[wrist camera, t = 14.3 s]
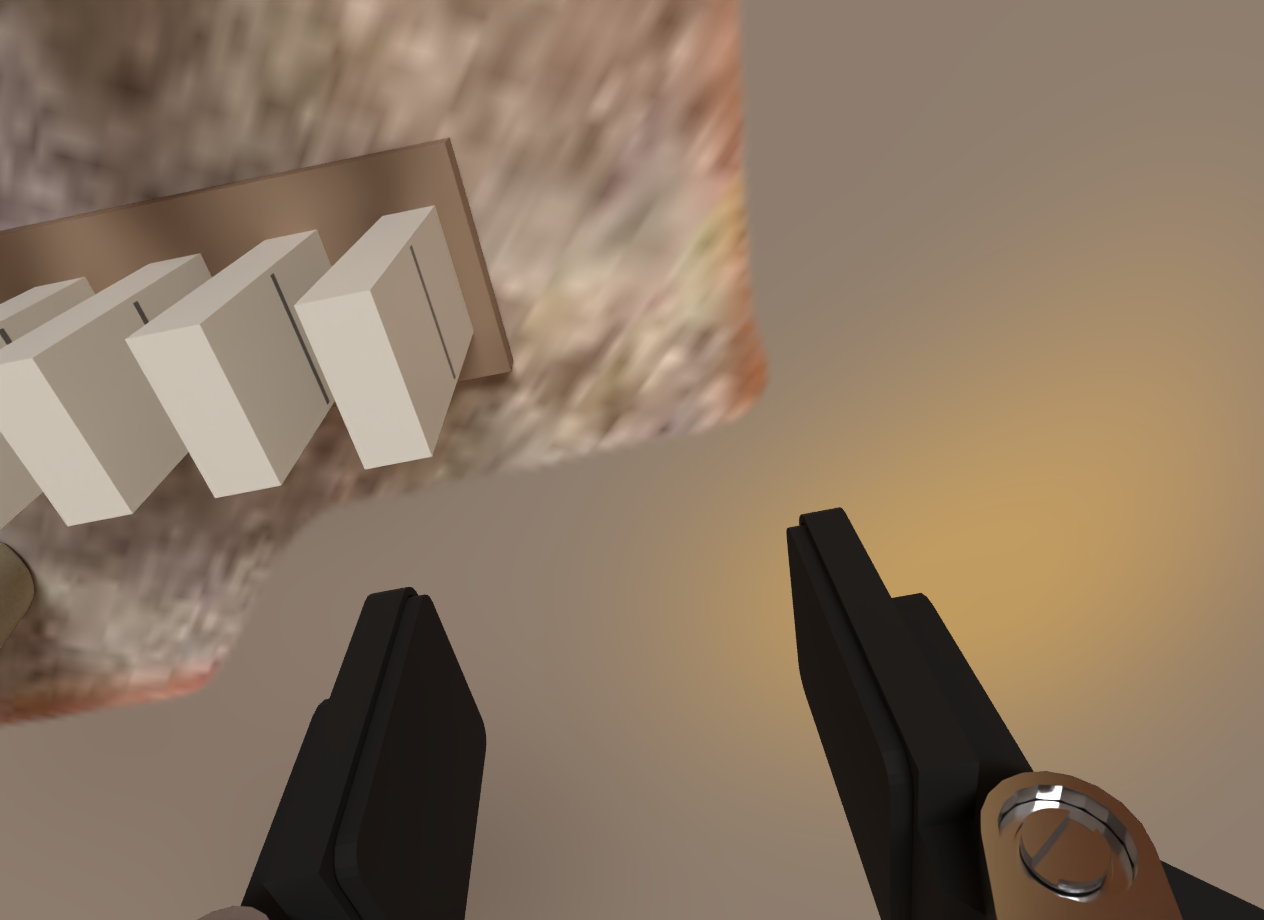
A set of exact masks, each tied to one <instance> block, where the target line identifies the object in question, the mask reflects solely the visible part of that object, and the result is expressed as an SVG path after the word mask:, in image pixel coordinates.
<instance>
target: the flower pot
mask: <svg viewBox="0 0 1264 920" xmlns="http://www.w3.org/2000/svg"><path fill="white" fill-rule="evenodd" d="M33 596H34V584H33V580H32V577H31V575H30V572H29V570H28V569H27V567H26V566H25V564H24V563H23V562H22V560H21V559H20V558H19V557H18V556H17V555H16V554H15V553H14V552H13V551H12V550H11V549H10V548H9V547H8V546H7V545H5V544H4V543H1V542H0V649H1V647H2V646H3V644H4V643H5V641H6V640H7V638H8V637H9V636H10V634H11V633H12V631H13V630H14V628H15V627H16V625H17V624H18V622H19V621H20V619H21V618H22V617H23V616H24V614H25V613H26V612H27V610H28V608H29V607H30V604H31V602H32V599H33Z"/></svg>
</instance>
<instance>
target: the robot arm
mask: <svg viewBox="0 0 1264 920" xmlns="http://www.w3.org/2000/svg"><path fill="white" fill-rule="evenodd" d="M787 544H788V556H789V566H790V577H791V588H792V597H793V598H792V599H793V609H794V620H795V631H796V640H797V641H796V642H797V652H798V662H799V670H800V675H801V680H802V684H803V688H804V691H805V695H806V698H807V701H808V704H809V707H810V709H811V712H812V715H813V718H814V721H815V724H816V727H817V730H818V733H819V736H820V739H821V742H822V745H823V748H824V751H825V754H826V757H827V760H828V763H829V766H830V769H831V772H832V775H833V778H834V781H835V784H836V787H837V790H838V793H839V796H840V799H841V802H842V805H843V807H844V810H845V814H846V817H847V820H848V822H849V825H850V828H851V831H852V834H853V837H854V840H855V843H856V846H857V849H858V852H859V855H860V858H861V861H862V864H863V867H864V870H865V873H866V876H867V879H868V882H869V885H870V888H871V891H872V894H873V897H874V900H875V903H876V906H877V909H878V912H879V915H880V918H881V920H1264V910H1263V909H1261V908H1259V907H1257V906H1255V905H1252V904H1251V903H1248V902H1246V901H1244V900H1242V899H1240V898H1238V897H1236V896H1234V895H1232V894H1230V893H1228V892H1226V891H1223V890H1221V889H1219V888H1217V887H1215V886H1213V885H1211V884H1209V883H1207V882H1205V881H1203V880H1200V879H1198V878H1196V877H1194V876H1192V875H1190V874H1188V873H1186V872H1184V871H1181V870H1180V869H1177V868H1175V867H1173V866H1171V865H1169V864H1167V863H1165V862H1163V861H1161V860H1160V859H1159V856H1158V853H1157V851H1156V848H1155V846H1154V844H1153V843H1152V841H1151V839H1150V837H1149V835H1148V834H1147V832H1146V830H1145V828H1144V826H1143V825H1142V823H1141V822H1140V821H1139V820H1138V819H1137V818H1136V817H1135V816H1134V815H1133V814H1132V813H1131V812H1130V811H1129V810H1128V809H1127V807H1126V806H1125V805H1124V804H1123V803H1122V802H1120V801H1119V800H1117V799H1115V798H1114V797H1112V796H1111V795H1110V794H1108V793H1107V792H1105V791H1104V790H1102V789H1101V788H1099V787H1098V786H1096V785H1093V784H1091V783H1088V782H1086V781H1083V780H1081V779H1079V778H1076V777H1074V776H1070V775H1065V774H1059V773H1054V772H1048V771H1040V772H1033V770H1032V768H1031V767H1030V765H1029V763H1028V762H1027V760H1026V758H1025V757H1024V755H1023V753H1022V752H1021V750H1020V748H1019V747H1018V745H1017V743H1016V742H1015V740H1014V739H1013V737H1012V735H1011V733H1010V732H1009V730H1008V729H1007V727H1006V725H1005V723H1004V722H1003V720H1002V719H1001V717H1000V715H999V714H998V712H997V710H996V709H995V707H994V705H993V704H992V702H991V700H990V699H989V697H988V695H987V694H986V692H985V690H984V689H983V687H982V685H981V684H980V682H979V680H978V679H977V677H976V676H975V674H974V672H973V671H972V669H971V667H970V666H969V664H968V662H967V661H966V659H965V657H964V656H963V654H962V652H961V651H960V649H959V647H958V646H957V644H956V642H955V641H954V639H953V637H952V636H951V634H950V633H949V631H948V629H947V628H946V626H945V624H944V623H943V621H942V619H941V618H940V616H939V614H938V613H937V611H936V609H935V608H934V606H933V605H932V603H931V602H930V601H929V599H928V598H927V597H926V596H925V595H923V594H922V593H918V594H913V595H906V596H901V597H895V598H891V596H890V595H889V593H888V591H887V589H886V587H885V585H884V584H883V582H882V580H881V578H880V576H879V574H878V572H877V570H876V569H875V567H874V565H873V563H872V561H871V559H870V557H869V556H868V554H867V552H866V550H865V548H864V547H863V545H862V543H861V541H860V539H859V537H858V535H857V534H856V532H855V530H854V528H853V526H852V524H851V522H850V520H849V519H848V517H847V515H846V513H845V512H844V510H843V509H842V508H840V507H839V508H834V509H829V510H823V511H818V512H812V513H807V514H802V515H800V518H799V526H795V527H790V528H787ZM485 752H486V732H485V727H484V723H483V720H482V717H481V715H480V713H479V710H478V708H477V706H476V704H475V701H474V699H473V696H472V694H471V691H470V689H469V687H468V684H467V682H466V680H465V677H464V675H463V673H462V670H461V668H460V666H459V663H458V661H457V658H456V656H455V654H454V651H453V649H452V647H451V644H450V642H449V640H448V637H447V635H446V632H445V630H444V628H443V625H442V623H441V621H440V618H439V616H438V614H437V612H436V609H435V606H434V604H433V602H432V600H431V598H430V597H429V596H428V595H420V596H418V594H417V592H416V591H415V590H414V589H413V588H412V587H405V588H400V589H394V590H389V591H384V592H379V593H373V594H370V595H369V596H368V597H367V599H366V601H365V603H364V606H363V608H362V611H361V614H360V617H359V619H358V622H357V625H356V627H355V630H354V633H353V636H352V638H351V641H350V644H349V647H348V650H347V652H346V655H345V657H344V660H343V663H342V666H341V668H340V671H339V674H338V677H337V679H336V682H335V685H334V688H333V690H332V693H331V696H330V698H329V699H326V700H324V701H323V702H322V703H321V704H320V705H318V707H317V709H316V711H315V713H314V715H313V717H312V719H311V722H310V725H309V728H308V730H307V733H306V735H305V738H304V741H303V743H302V746H301V748H300V751H299V754H298V756H297V759H296V762H295V764H294V767H293V769H292V772H291V775H290V777H289V780H288V783H287V785H286V788H285V790H284V793H283V796H282V798H281V801H280V804H279V807H278V809H277V812H276V815H275V817H274V819H273V822H272V825H271V827H270V830H269V832H268V835H267V838H266V840H265V843H264V846H263V848H262V851H261V853H260V856H259V859H258V861H257V864H256V867H255V869H254V872H253V875H252V877H251V880H250V883H249V885H248V888H247V890H246V893H245V896H244V898H243V901H242V903H241V906H231V907H228V908H224V909H220V910H217V911H213V912H211V913H209V914H207V915H205V916H203V917H201V918H200V919H198V920H464V919H465V910H466V903H467V895H468V887H469V879H470V871H471V863H472V855H473V847H474V839H475V831H476V823H477V816H478V808H479V800H480V792H481V784H482V776H483V767H484V760H485Z"/></svg>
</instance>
